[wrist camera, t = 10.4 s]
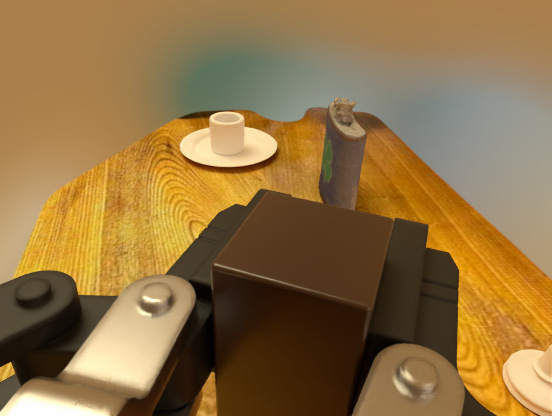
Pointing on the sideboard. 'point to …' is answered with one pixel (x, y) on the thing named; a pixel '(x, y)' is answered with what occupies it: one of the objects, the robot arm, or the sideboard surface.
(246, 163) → the candle holder
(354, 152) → the flask
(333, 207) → the knife
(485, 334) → the sideboard surface
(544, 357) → the chess piece
